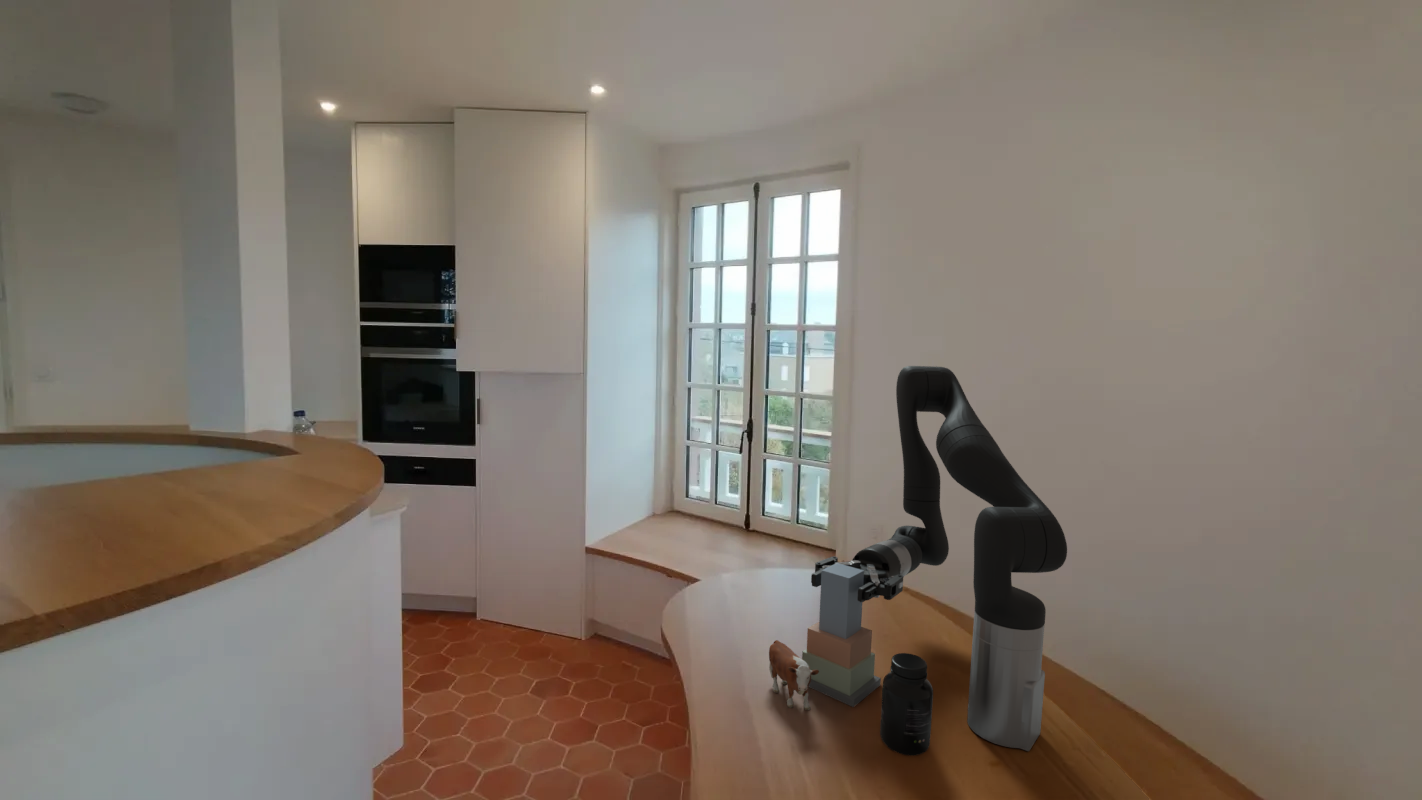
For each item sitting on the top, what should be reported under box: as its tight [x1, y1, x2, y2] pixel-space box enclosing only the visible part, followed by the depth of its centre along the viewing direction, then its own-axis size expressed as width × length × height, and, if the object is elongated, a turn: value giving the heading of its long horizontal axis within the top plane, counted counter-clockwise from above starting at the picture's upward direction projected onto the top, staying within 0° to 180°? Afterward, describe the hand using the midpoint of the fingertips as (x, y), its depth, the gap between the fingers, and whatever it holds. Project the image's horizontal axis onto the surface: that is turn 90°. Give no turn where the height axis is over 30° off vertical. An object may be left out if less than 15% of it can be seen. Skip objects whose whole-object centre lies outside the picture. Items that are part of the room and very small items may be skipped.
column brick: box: [818, 563, 864, 639], centre depth 102 cm, size 5×5×10 cm
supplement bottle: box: [879, 652, 934, 757], centre depth 87 cm, size 7×7×12 cm
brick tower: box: [801, 621, 882, 708], centre depth 102 cm, size 11×9×9 cm
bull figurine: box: [768, 639, 819, 711], centre depth 97 cm, size 4×13×8 cm, turn 15°
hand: (836, 588), depth 100 cm, fingers open, 8 cm apart
